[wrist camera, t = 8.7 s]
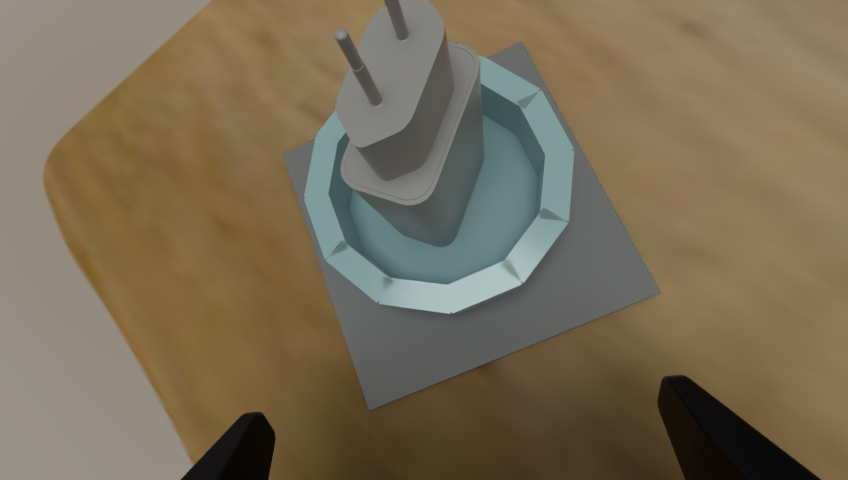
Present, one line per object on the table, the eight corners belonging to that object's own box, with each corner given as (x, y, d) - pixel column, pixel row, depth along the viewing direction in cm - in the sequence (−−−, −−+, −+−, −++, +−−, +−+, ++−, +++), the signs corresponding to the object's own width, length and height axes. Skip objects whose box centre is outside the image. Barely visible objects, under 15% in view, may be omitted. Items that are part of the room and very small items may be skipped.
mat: (657, 293, 18) (660, 292, 17) (371, 408, 19) (369, 410, 18) (521, 46, 21) (521, 41, 21) (286, 157, 22) (282, 154, 22)
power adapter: (489, 146, 19) (483, -118, 8) (450, 251, 18) (379, 140, 7) (429, 130, 20) (339, -136, 8) (390, 231, 19) (232, 97, 8)
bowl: (601, 254, 18) (624, 241, 15) (379, 347, 19) (356, 353, 16) (499, 60, 21) (500, 14, 17) (308, 150, 21) (277, 121, 18)
